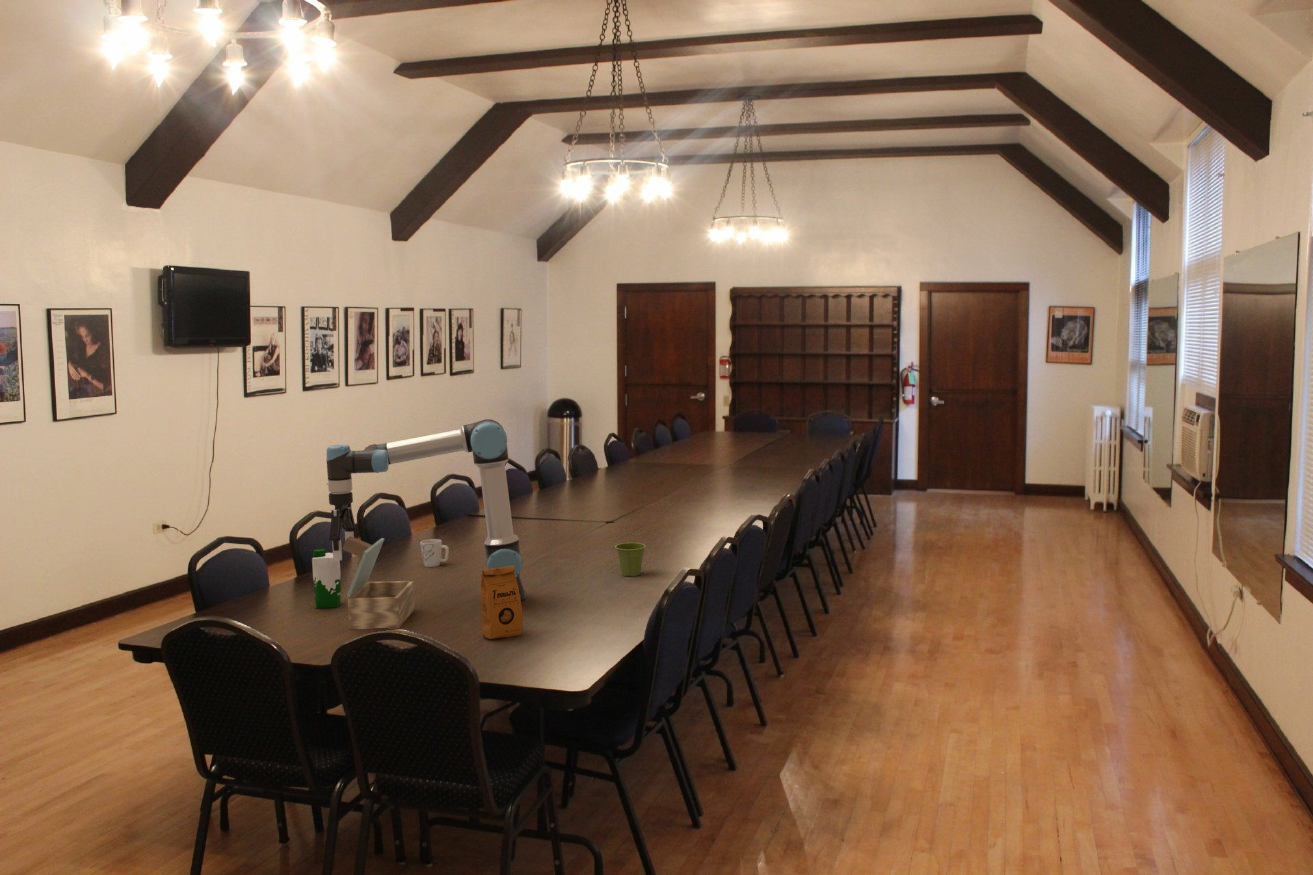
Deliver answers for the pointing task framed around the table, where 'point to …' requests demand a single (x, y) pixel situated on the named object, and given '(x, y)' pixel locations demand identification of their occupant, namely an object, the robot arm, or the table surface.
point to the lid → (362, 560)
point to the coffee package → (500, 603)
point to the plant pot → (630, 558)
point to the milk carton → (326, 579)
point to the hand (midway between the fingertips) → (344, 555)
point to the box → (381, 605)
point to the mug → (433, 552)
